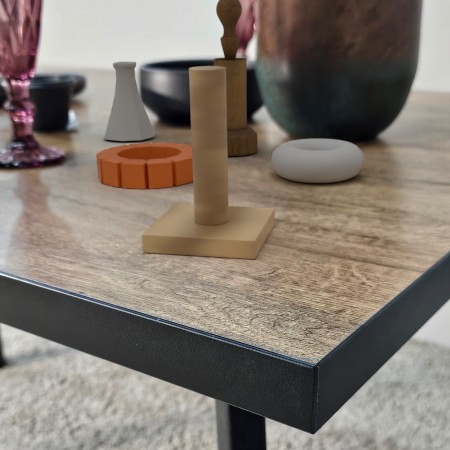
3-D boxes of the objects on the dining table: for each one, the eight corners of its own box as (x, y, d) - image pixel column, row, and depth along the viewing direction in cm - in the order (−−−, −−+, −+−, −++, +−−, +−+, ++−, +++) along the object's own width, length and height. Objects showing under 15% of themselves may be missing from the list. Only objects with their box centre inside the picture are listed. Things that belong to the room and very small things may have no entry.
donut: (262, 169, 84) (282, 188, 75) (262, 138, 83) (282, 155, 74) (347, 164, 86) (376, 183, 77) (348, 134, 84) (378, 149, 75)
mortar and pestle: (266, 148, 94) (266, -5, 87) (243, 158, 89) (242, -4, 82) (220, 144, 97) (216, -4, 90) (195, 154, 92) (190, -3, 85)
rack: (142, 252, 58) (130, 74, 53) (175, 219, 66) (168, 61, 61) (255, 259, 56) (254, 74, 51) (274, 224, 64) (276, 62, 59)
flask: (162, 133, 105) (158, 60, 101) (146, 143, 99) (141, 65, 95) (114, 132, 107) (109, 59, 103) (95, 142, 100) (88, 65, 96)
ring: (83, 186, 78) (80, 162, 77) (120, 163, 88) (119, 141, 87) (185, 190, 75) (184, 165, 74) (212, 166, 85) (211, 143, 84)
